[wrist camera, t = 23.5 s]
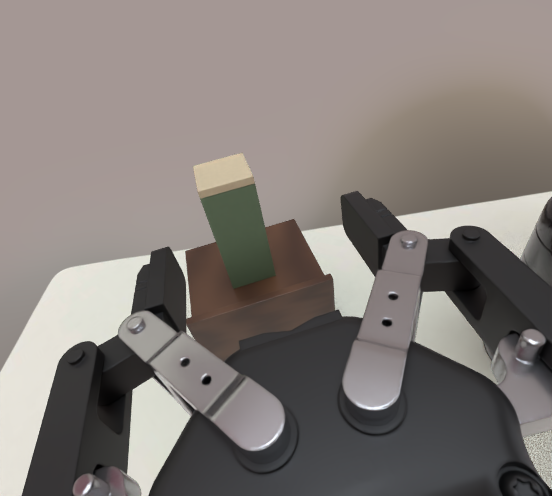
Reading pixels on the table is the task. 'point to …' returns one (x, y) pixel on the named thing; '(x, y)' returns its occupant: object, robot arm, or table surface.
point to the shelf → (256, 293)
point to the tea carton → (235, 218)
